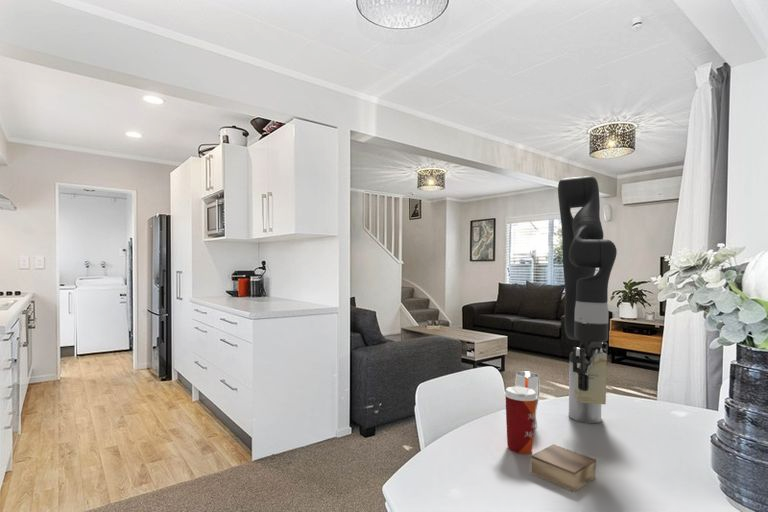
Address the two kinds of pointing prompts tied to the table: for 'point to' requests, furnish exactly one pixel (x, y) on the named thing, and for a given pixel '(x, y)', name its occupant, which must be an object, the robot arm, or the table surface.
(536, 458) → the pedestal
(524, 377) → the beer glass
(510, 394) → the coffee cup
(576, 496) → the table surface
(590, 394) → the skincare box
